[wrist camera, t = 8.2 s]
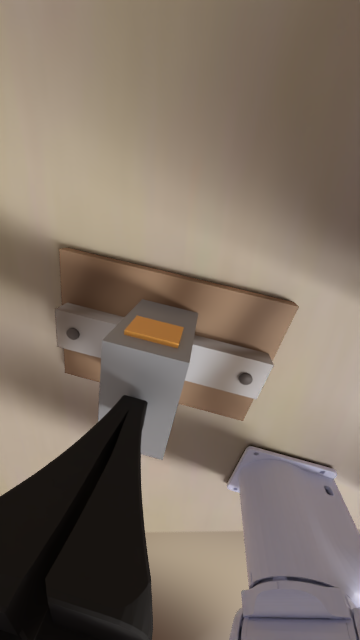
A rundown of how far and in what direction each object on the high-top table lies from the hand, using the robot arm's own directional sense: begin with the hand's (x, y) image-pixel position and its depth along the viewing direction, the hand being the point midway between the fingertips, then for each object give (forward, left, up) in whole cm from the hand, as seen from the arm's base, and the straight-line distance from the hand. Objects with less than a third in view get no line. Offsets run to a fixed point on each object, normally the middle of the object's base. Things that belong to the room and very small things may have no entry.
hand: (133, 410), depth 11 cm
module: (0, 0, -7) cm, 7 cm away
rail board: (0, 0, -8) cm, 8 cm away
